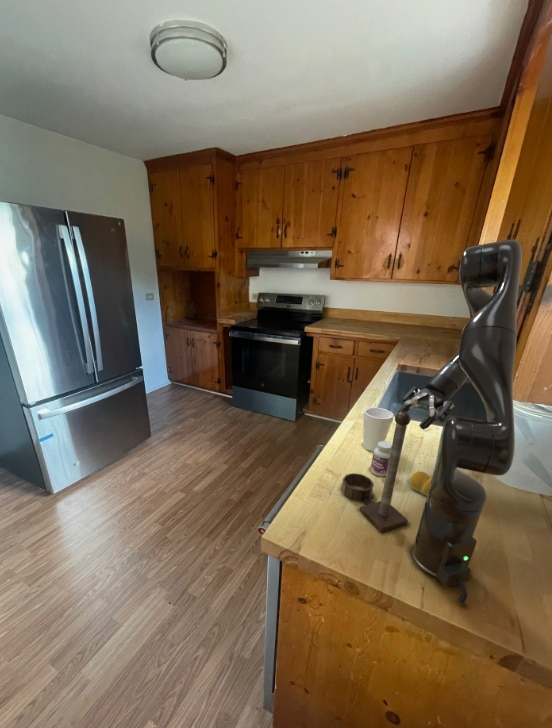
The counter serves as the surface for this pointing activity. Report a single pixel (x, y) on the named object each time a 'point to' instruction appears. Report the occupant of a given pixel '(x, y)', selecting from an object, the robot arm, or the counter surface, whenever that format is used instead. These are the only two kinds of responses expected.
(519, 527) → the counter surface
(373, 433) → the foam cup
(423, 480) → the bread roll
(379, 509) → the towel stand
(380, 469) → the pill bottle
